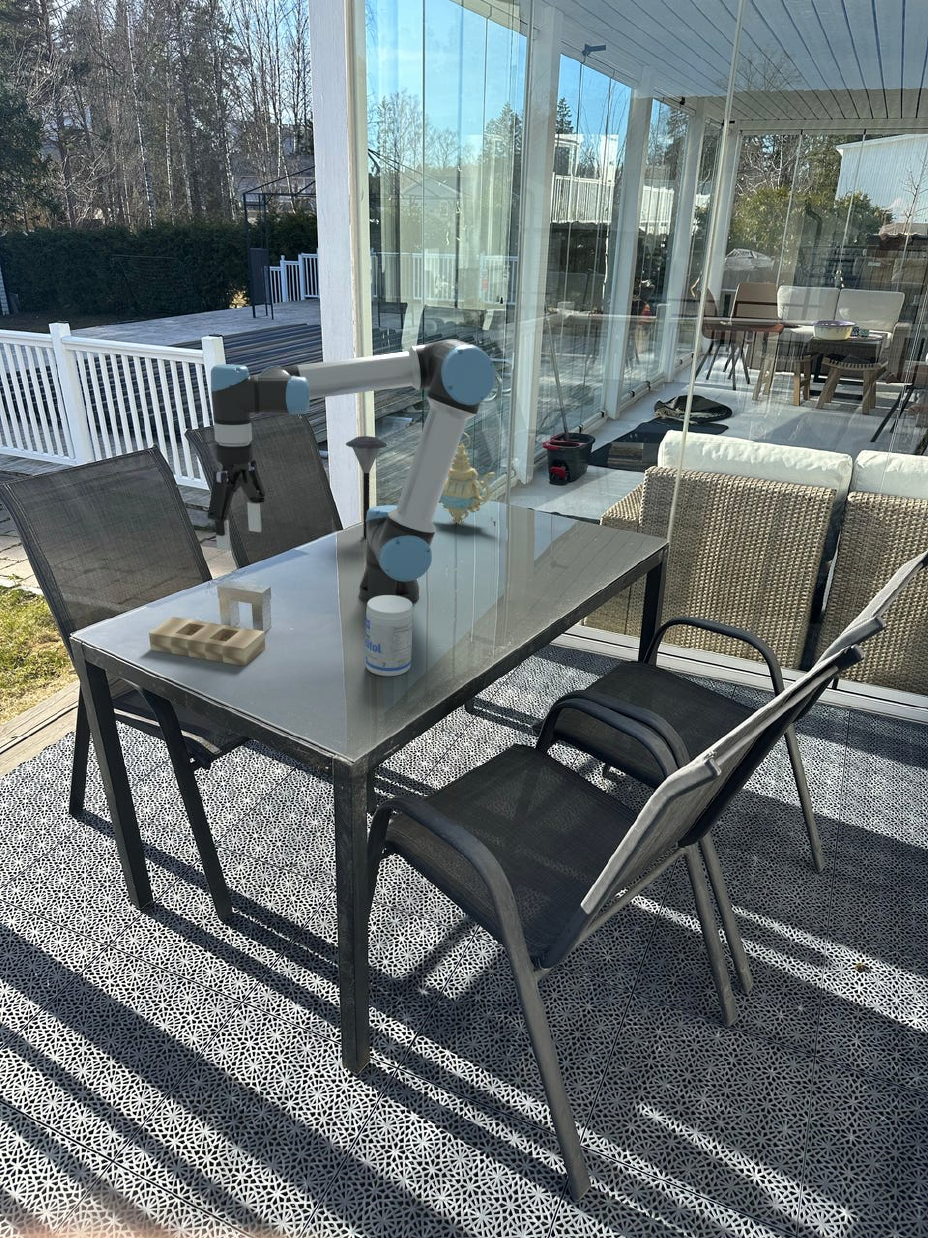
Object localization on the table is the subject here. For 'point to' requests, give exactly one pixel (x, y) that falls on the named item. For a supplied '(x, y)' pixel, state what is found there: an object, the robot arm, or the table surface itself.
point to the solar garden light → (366, 465)
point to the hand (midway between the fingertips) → (240, 539)
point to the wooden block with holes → (207, 641)
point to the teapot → (463, 487)
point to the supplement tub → (388, 635)
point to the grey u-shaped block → (248, 593)
